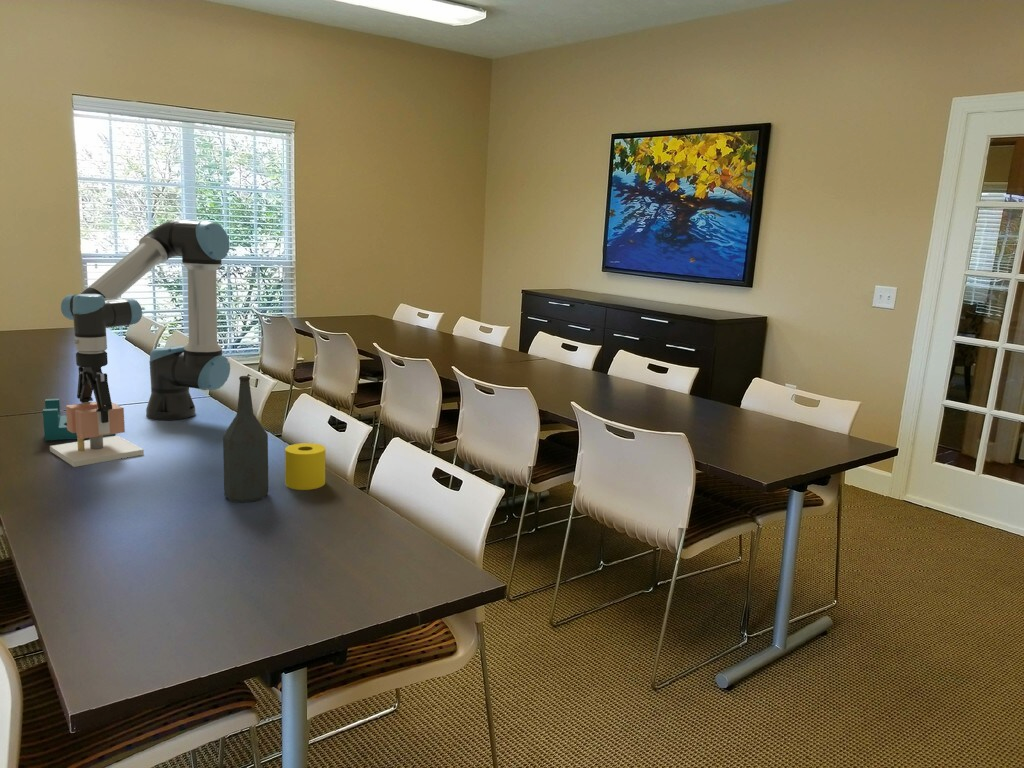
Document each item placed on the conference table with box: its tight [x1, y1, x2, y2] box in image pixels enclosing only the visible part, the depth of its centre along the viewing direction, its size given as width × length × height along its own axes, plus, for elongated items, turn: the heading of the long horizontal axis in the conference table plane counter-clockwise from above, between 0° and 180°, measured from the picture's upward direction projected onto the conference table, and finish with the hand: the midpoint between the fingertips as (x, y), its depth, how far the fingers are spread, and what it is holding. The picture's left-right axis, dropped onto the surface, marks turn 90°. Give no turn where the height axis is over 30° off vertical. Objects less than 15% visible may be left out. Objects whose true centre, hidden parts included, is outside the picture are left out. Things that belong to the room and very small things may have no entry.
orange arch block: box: [65, 401, 126, 440], centre depth 212 cm, size 11×11×7 cm
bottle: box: [222, 375, 269, 503], centre depth 185 cm, size 10×10×30 cm
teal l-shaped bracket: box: [42, 398, 116, 441], centre depth 228 cm, size 18×11×10 cm, turn 117°
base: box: [49, 435, 145, 468], centre depth 213 cm, size 18×18×8 cm
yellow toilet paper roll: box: [284, 442, 326, 491], centre depth 198 cm, size 10×10×9 cm
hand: (95, 429), depth 213 cm, fingers closed on orange arch block, 11 cm apart
